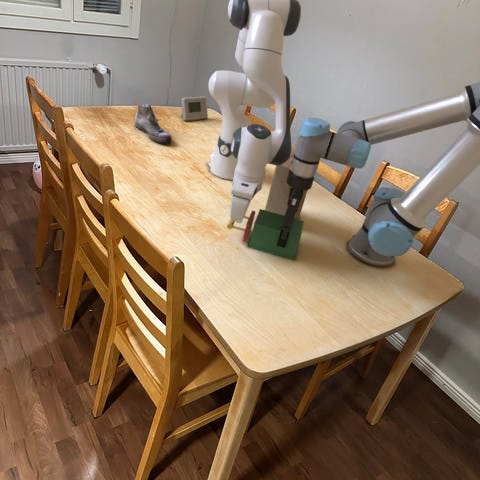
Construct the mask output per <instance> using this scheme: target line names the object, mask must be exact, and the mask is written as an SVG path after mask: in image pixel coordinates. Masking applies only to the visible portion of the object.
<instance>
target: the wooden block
mask: <svg viewBox="0 0 480 480" xmlns="http://www.w3.org/2000/svg"><path fill="white" fill-rule="evenodd" d="M290 159H293V156H290V158H289V159H288V160H287V161H286V162H285V163H283V164H281V165H279V166H276V165H275V168H274V169H275V170H274V173H273V176H272V180H271V185H270V188H269V191H268V195H267V200H266V204H265V208H264V210H266V211H269V212H273V213H277V214H280V215H284V216H285V213H286V211H287V207H288V206H287V203H288V199H289V192H290V189H291V188H292V187H290V186H289V185H288V184H287V182H286V180H287V176H288V173H289V171H290V166H291V163H292V162H290ZM303 191H304V192H303V196H302V199H301V200H300V204H299V207H298V208H297V212H296V213H295V216H294V218H295V219H298V218H300V217H301V213H302V210H303V207H304V203H305V200H306V197H307V194H308V191H309V190H306V191H305V190H303Z"/></svg>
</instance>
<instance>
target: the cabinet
mask: <svg viewBox="0 0 480 480" xmlns="http://www.w3.org/2000/svg"><path fill="white" fill-rule="evenodd" d="M284 220H285V216H284V215H280V214H277V213H273V212H269V211H266V210H265V209H261V208H260V209H259V210H258V213H257V216H256V218H255V219H254V222H253V226H252V230H251V236H250V239H249V245H248V248H251V249H255V250H258V251H262V252H265V253H269V254H272V255H277V256H280V257H282V258H287V259H290V260H295V257H296V253H297V250H298V248H299V247H298V246H299V243H300V241H301V237H302V232H303V227H304V222H305V221H304V220H303V219H298V218H297V219H295V218H294V220H293V223H292V226H291V231H290V234H289V237H288V240H287V244H286V247H285V248H283V247H279V246H277V242H278V239H279V235H280V232H281V228H280V226H283V223H284Z"/></svg>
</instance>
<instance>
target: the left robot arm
mask: <svg viewBox="0 0 480 480" xmlns="http://www.w3.org/2000/svg"><path fill="white" fill-rule="evenodd" d="M227 15H228V21H229V23H230V24H231V26H233V27H235V28H237V29H239V32H238V37H237V43H236V48H235V51H234V59H235V61H236V63H237V64H238V65H239V67H240V68H242V70H243V72H238V71H235V70H234V71H233V70H230V69H229V70H226V69H225V70H222V69H221V70H215V71H214V72H213V73H212V74H211V75H210V77H209V80H208V85H207V86H208V92H209V94H210V96H211V97H212V99H213V100H215V102H216V104H217V105H218V107H219V109H220V113H221V127H220V135H219V136H218V139H217V145H216V146H215V147H214V149H213V153H212V154H210V158H211V160H209V161H208V164H207V165H208V166H209V170H210V172H211V173H212V174H213V175H215V176H216V177H218V178H220V179H225V180H229V181H232V185H231V189H230V194H231V201H230V211H229V220H230V219H231V220H232V221H235V223H237V224H241V223H242V222H243V221H244V219H245V218H244V216H246V213H247V211H248V209H249V207H250V204H251V202H252V200H253V199H254V197H255V196H256V195H257V194H258V193H259V192H260V191H261V190H262V188H263V184H264V181H265V176H266V166H267V164H268V165H272V166H275V167H276V166H279V165H281V164H283V163H285V162H286V161H287V160H288V159H289V158H290V157H291V154H292V135H291V134H292V133H291V85H290V80H289V77H288V76H287V75H286V74H285V73H284V70H283V66H282V56H283V49H284V37H290V36H292V35H294V34H295V33H296V32H297V30H298V29H299V26H300V24H301V21H302V6H301V3H300V2H299V1H298V0H229V1H228V5H227ZM274 105H275V108H274V109H275V113H274V114H275V115H274V116H275V130H270V129H269V128H268V127H267V126H265V125H263V124H259V123H252V122H251V119H250V118H249V117H248V116H247V115H246V114H245V113H243V112H242V111H241V110H240V109H239V106H246V107H251V108H256V109H270V108H272V107H273V106H274Z"/></svg>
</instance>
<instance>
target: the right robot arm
mask: <svg viewBox="0 0 480 480" xmlns="http://www.w3.org/2000/svg"><path fill="white" fill-rule="evenodd" d="M464 121H465V122H467V123H466V129H464V131H463V132H461V134H460V135H459V136H458V137H457V138H456V139H455V140H454V141H453V142H452V143H451V144H450V146H449V147H448V148H447V149H446V150H444V152H443V153H442V154H441V155H440V156H439V157H438V158H437V159H436V160H434V162H433V163H432V164H431V165H430V166H429V167H428V169H426V170H425V172H424V173H423V174H422V175H421V176H420V177H419V178H418V179H417V180H416V181H415V182H414V183H413V184H412V185H411V187H409V188H408V189H407V190H406V192H404V191H402V190H399V189H396V188H392V187H387V186H386V187H385V186H382V187H379V188H377V189H376V190H375V193H374V194H373V197H372V201H371V203H370V205H369V208H368V210H367V213H366V215H365V218H364V220H363V222H362V226H361V227H360V228H359V229H358V231H357V232H356V233H355V234H353V235H352V237H351V238H350V240H349V243H348V245H347V246H348V250H349V252H350V253H351V255H352V256H353V257H355V258H356V259H357V260H359V261H361V262H362V263H365V264H367V265H370V266H373V267H379V268H384V267H389V266H391V265H392V264H393V263H394V262H395V261H394V260H395V259H396V257H400V256H403V255H405V254H406V253H407V252H409V250H410V249H411V248H412V246H413V243H414V238H415V237H416V235H418V234H419V233H420V232H421V231H422V230H423V229H424V228H425V227H426V218H427V217H428V216H429V215H430V214H432V212H433V211H434V210H435V209H436V208H437V207H438V206H440V205H441V203H443V202H444V201H445V200H446V199H447V198H448V197H449V196H450V195H451V194H452V193H453V192H454V191H456V190H457V188H458V187H459V186H460V185H461V184H462V183H464V182H465V180H466V179H467V178H468V177H470V175H472V174H473V172H475V170H477V169H478V168H479V166H480V81H478V82H475V83H472V84H468V85H466V86H462V88H461V89H460V90H459V92H455V93H452V94H448V95H445V96H442V97H439V98H438V97H437V98H435V99H431V100H428V101H425V102H421V103H418V104H414V105H411V106H407V107H404V108H401V109H397V110H393V111H390V112H386V113H383V114H379V115H376V116H373V117H369V118H366V119H363V120H359V121H354V120H349V121H346V122H344V123H342V124H341V125H340V127H339V128H338V129H337V132H334V131H333V130H332V131H331V124H330V122H328V121H326V120H324V119H322V118H318V117H307V118H305V119H304V120H303V121H302V124H301V127H300V129H299V133H298V136H297V140H296V144H295V148H294V151H293V156H292V158H293V159H290V162H292V163H291V166H290V171H289V173H288V176H287V180H286V182H287V184H288V185H289V186H290V187H292V188H291V189H290V192H289V199H288V203H287V206H288V207H287V211H286V213H285V220H284V223H283V226H280V228H281V232H280V235H279V239H278V242H277V246H279V247H283V248H285V247H286V244H287V240H288V237H289V234H290V231H291V226H292V223H293V220H294V216H295V213H296V212H297V208H298V207H299V204H300V200H301V199H302V196H303V192H304V191H303V190H305V191H306V190H308V191H310V190H312V187H313V183H314V180H315V176H316V175H317V171H318V168H319V166H320V162H321V159H323V160H326V161H329V162H333V163H337V164H339V165H344V166H347V167H348V168H353V169H354V168H355V169H363V168H364V167H365V166H366V165H367V162H368V158H369V155H370V152H371V149H372V146H373V145H376V144H380V143H384V142H388V141H392V140H396V139H399V138H403V137H407V136H411V135H414V134H418V133H422V132H426V131H429V130H432V129H437V128H440V127H444V126H448V125H452V124H457V123H460V122H464Z"/></svg>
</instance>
